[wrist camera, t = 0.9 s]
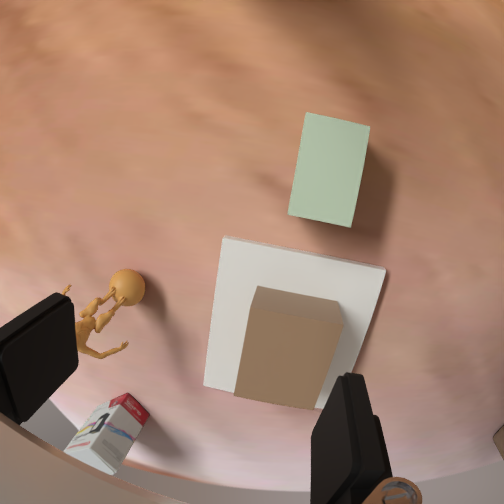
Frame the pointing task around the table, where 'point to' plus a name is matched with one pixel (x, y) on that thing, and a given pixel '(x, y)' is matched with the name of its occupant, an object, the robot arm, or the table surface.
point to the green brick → (328, 169)
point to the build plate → (293, 278)
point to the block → (500, 441)
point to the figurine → (124, 293)
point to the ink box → (109, 434)
